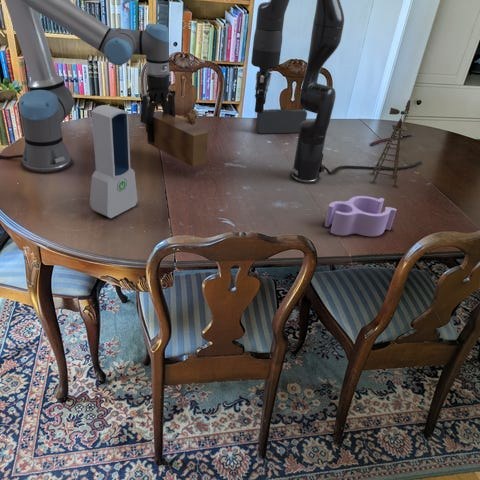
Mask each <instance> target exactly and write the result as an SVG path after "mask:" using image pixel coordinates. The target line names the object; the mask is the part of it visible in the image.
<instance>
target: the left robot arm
mask: <svg viewBox="0 0 480 480" xmlns="http://www.w3.org/2000/svg"><path fill="white" fill-rule="evenodd" d="M3 1H4V3H5V6H6V9H7V13H8V15H9V18H10V21H11V24H12V27H13V31H14V33H15V36H16V39H17V41H18V44H19V48H20V51H21V53H22V56H23V59H24V62H25V66H26V69H27V71H28V75H29V78H30V81H29V83H28V84H27V85H28V90H29V91H27V92H24V93H22V95H20V97H19V98H18V111H19V114H20V120H21V126H22V132H23V137H24V148H23V153H22V154H15V155H14V154H13V155H2V154H0V159H4V160H12V159H22V160H21V161H22V166H23V168H24V169H25V170H27V171H29V172H33V173H39V174H46V173H56V172H61V171H63V170H66V169H67V168H69V167H70V166H71V163H72V159H71V155H70V153H69V151H68V150H67V149H68V148H67V147H66V145H65V143H64V140H63V132H62V123H63V122H64V120H66V118H67V117H69V115H70V114H71V113H72V110H73V107H74V104H75V103H74V102H75V100H74V95H73V93H72V91H71V90H70V88H69V87H68V86H66V82H65V80H64V78H63V76H61V75H60V74H58V72H57V69H56V66H55V62H54V60H53V56H52V52H51V49H50V46H49V42H48V39H47V36H46V33H45V30H44V27H43V24H42V23H43V22H42V19H41V16H40V15H42V16H43V17H45V18H46V19H48V20H49V21H51V22H52V23H54V24H56V25H57V26H59V27H60V28H62V29H64V30H65V31H66V32H68V33H70V34H72V35H73V36H75V37H76V38H78V39H80V40H81V41H83V42H84V43H86V44H87V45H88V46H91V47H92V48H93V49H95V50H96V51H98V52H100V53H102V54H103V55H104V56H105V58H106V60H107V61H108V62H109V63H110V64H113V65H115V66H122V65H125V64H126V63H129V61H130V60H131V59H132V57H133V55H135V56H136V55H138V56H145V57H146V58H145V60H146V61H145V63H146V64H145V69H146V71H145V73H146V86H147V90H146V92H145V93H140V94H139V98H140V123H142V124H144V125H145V132H146V134H147V133H148V141H150V142H154V125H153V124H152V120H153V116H154V112H156V107H158V103H160V105H161V111H162V112H164V113H166V114H169V115H171V116H173V117H175V115H176V100H175V96H176V93H177V92H176V90H174V89H172V88H169V86H170V76H169V74H170V30H169V28H168V26H167V25H165V24H161V23H147V24H146V25H145V29H143V30H141V29H131V28H121V27H110V26H109V25H107V24H105V23H104V22H102V21H101V20H99V19H98V18H97V17H95V16H94V15H91V13H89V12H87V11H86V10H84V9H83V8H81V7H80V6H79V5H76V4H75V3H73V2H72V1H70V0H3Z"/></svg>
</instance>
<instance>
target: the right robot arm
mask: <svg viewBox="0 0 480 480" xmlns="http://www.w3.org/2000/svg"><path fill="white" fill-rule="evenodd" d="M341 3H342V2H341V0H316V4H315V5H316V6H315V11H314V18H313V22H312V29H311V34H310V35H311V36H310V45H309V51H308V56H307V63H306V67H305V71H304V75H303V80H302V83H301V87H300V88H301V89H300V93H299V106H300V108H301V110H305V111H306V112H309V113H313V114H316V117H315V119H306V121H303V122H302V123H301V125H300V130H299V133H298V136H297V143H296V149H295V155H294V161H293V166H292V170H291V178H292V179H293V180H295V181H297V182H300V183H302V184H303V183H304V184H312V183H315V182H317V181H318V179H319V178H320V173H321V174H322V173H323V172H325V171H326V173H327V174H328V175H333V174H335V173H336V172H337V171H338V170H340V169H366V170H367V169H368V170H374V169H375V167H376V166H366V165H340V166H337V167H335V168H334V170H333V171H330V169H329V168H328V167H327V166H326V165H324V164H323V159H324V152H323V151H324V146H325V141H326V138H327V137H326V136H327V132H328V128H329V126H330V123H331V119H332V114H333V110H334V107H335V102H336V97H337V95H336V89H335V88H334V87H332V86H328V85H325V84H321V83H318V80H319V76H320V72H321V70H322V69H323V66H324V65H325V63H326V62H327V61H328V60H329V59H330V58H331V56H332V55H333V54H334V53H335V52H336V50H337V49H338V47H339V46H340V44H341V42H342V36H343V31H344V25H345V15H344V10H343V7H342V4H341ZM289 4H290V0H270V1H265V2H261V3H259V5H258V7H257V10H256V11H257V13H256V20H255V21H256V22H255V30H254V33H253V34H254V35H253V41H252V50H251V60H250V61H251V62H250V63H251V65H252V66H253V67H255V68H259V70H257V72H256V74H255V87H254V89H255V94H254V98H255V105H254V112H255V113H256V114H257V113H262V112H263V110H264V106H265V104H266V102H267V101H266V100H267V99H266V98H267V93H268V91H269V87H270V82H271V79H272V72H271V69H272V70H274V69H278V68H279V67H280V61H281V53H282V46H283V45H282V44H283V31H284V24H285V15H286V11H287V10H288V6H289ZM422 162H423V161H421V160H420V161H419V160H418V161H417V162H415V163H413V164H410V165H405V166H398V169H397V170H403V169H404V170H405V169H410V168H413V167H416V166H418V165H419V164H422ZM392 167H393V168H394V166H392ZM378 169H379V166H378V167H377V170H378ZM380 170H392V169H391V168H385V167H381V169H380Z"/></svg>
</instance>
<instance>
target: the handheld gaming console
mask: <svg viewBox="0 0 480 480" xmlns="http://www.w3.org/2000/svg"><path fill="white" fill-rule="evenodd" d="M307 117H308V111H307V110H304V109H302V108H301V109H295V108H287V109H286V108H285V109H284V108H283V109H282V108H281V109H280V108H277V109H275V108H274V109H263V112H262V113H256V121H255V131H256V133H257V134H290V133H291V134H293V133H295V134H296V133H298V134H299V130H300V125H301V123H302V122H303V121H306V120H307Z"/></svg>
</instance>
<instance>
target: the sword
mask: <svg viewBox="0 0 480 480" xmlns="http://www.w3.org/2000/svg"><path fill="white" fill-rule="evenodd" d="M403 135H404V134H401V138H400V139H402V138H405V137H409V136H411V135H407V136H404V137H403ZM389 139H390V137H387V138H382V139H378V140H376V141H373V142H371V143H370V146H374V145H376V144H379V143H382V142H386V141H387V142H388V141H389ZM396 139H398V137H394V139H393V140H396ZM391 140H392V138H391Z"/></svg>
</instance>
